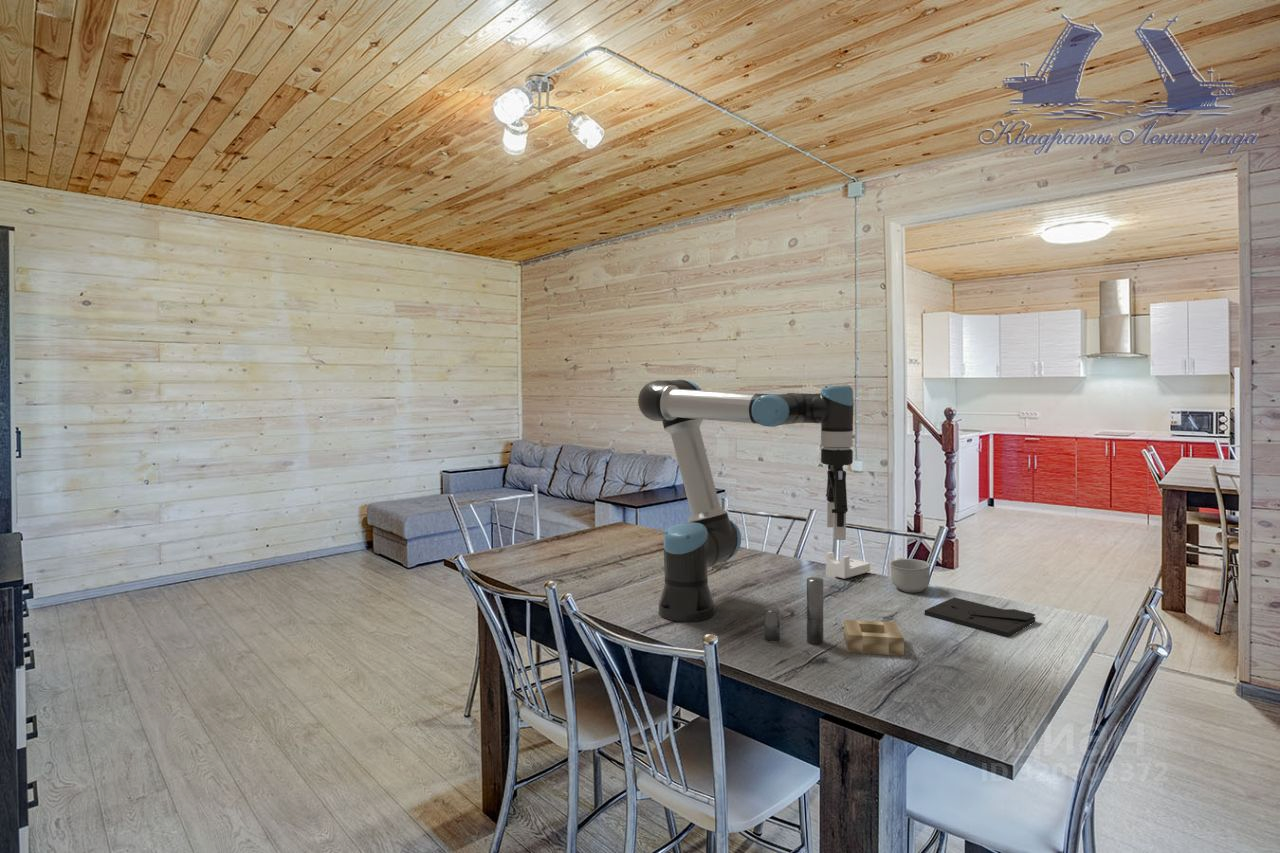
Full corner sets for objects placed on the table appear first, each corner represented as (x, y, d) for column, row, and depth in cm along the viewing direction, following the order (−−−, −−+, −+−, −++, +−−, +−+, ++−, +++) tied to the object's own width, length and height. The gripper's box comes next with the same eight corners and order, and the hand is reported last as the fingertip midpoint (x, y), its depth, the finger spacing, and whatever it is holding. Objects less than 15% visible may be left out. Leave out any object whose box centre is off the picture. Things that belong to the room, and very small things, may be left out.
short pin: (763, 641, 157) (763, 612, 157) (764, 635, 161) (764, 607, 161) (780, 642, 157) (780, 613, 156) (780, 636, 160) (780, 608, 160)
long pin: (807, 644, 155) (807, 581, 154) (806, 638, 159) (806, 576, 158) (823, 645, 154) (823, 582, 154) (822, 639, 158) (822, 577, 157)
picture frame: (1035, 625, 167) (953, 604, 183) (1035, 614, 167) (954, 594, 183) (1007, 641, 157) (924, 617, 173) (1007, 629, 157) (924, 607, 173)
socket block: (847, 651, 150) (847, 634, 150) (843, 635, 160) (844, 619, 160) (903, 655, 148) (903, 638, 148) (896, 638, 158) (896, 622, 157)
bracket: (844, 581, 205) (844, 557, 204) (825, 576, 210) (825, 553, 210) (870, 574, 212) (870, 550, 212) (851, 569, 218) (851, 546, 218)
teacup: (933, 596, 188) (933, 568, 188) (893, 594, 191) (893, 567, 190) (922, 581, 202) (923, 556, 202) (885, 580, 204) (885, 555, 204)
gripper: (861, 453, 150) (859, 545, 151) (845, 443, 174) (844, 522, 176) (827, 453, 151) (826, 544, 152) (816, 443, 175) (815, 522, 177)
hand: (835, 533), depth 164 cm, fingers open, 13 cm apart
